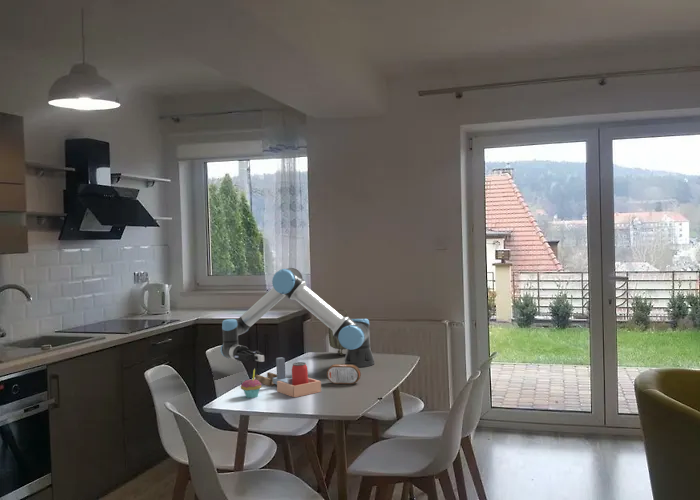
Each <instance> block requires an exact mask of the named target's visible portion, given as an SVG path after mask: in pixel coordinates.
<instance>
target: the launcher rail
mask: <svg viewBox="0 0 700 500" xmlns="http://www.w3.org/2000/svg"><path fill="white" fill-rule="evenodd" d="M266 375H267V377H266V376H263V375H259V374H255V376H254V379H256V380H258V381H260V382H261V383H262V385H265V386H268V387H274V386H277V385H276V384H273V379H272V378H275V377H277V373H272V372H266Z"/></svg>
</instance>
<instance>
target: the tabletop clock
mask: <svg viewBox="0 0 700 500" xmlns="http://www.w3.org/2000/svg"><path fill="white" fill-rule="evenodd" d="M336 311H337V312H338V313H339V312H340V311H341V312H345V315H344V314H341V315H342V316H343V317H347V316H348V312H347V311H346V310H345V309H341V308H340V309H338V310H336ZM328 342H329V343H328V344H329V347H331V348H333V349H335V350H337V353H338V354H339V356H343V350H347V349H346V348H344V347H343V346H342V345H341V344H340V342H339V340H338V339H337V338H336V337H335V336H333V331H332V330H331V329H330V328H329V327H328Z"/></svg>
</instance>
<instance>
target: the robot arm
mask: <svg viewBox="0 0 700 500" xmlns="http://www.w3.org/2000/svg"><path fill="white" fill-rule="evenodd" d="M271 282H272V283H271V284H272V288H271V289H270V290H269V291H268V292H267V293H265V294H264V295H263V296H262V297H260V298H259V300H257V301H256V302H255V303H254V304H253V305H251V306H250V307H249V309H247V310H246V311H245V312H244V313H243V314H242V315H240V316H239V317H238V318H237V319H236V318H230V319H224V320H222V323H221V325H222V326H221V330H222V344H221V346H220V350H219V351H220V354H221V355H222V356H223V357H225V358H227V359H231V360H236V361H237V362H247V361H251V362H255V361H256V362H260V363H263V362H265V355H264V354H263V353H262V352H260V351H259V350H255V351H253V350H250V349H249V347H247V346H245V345H241V344H239V336H240V335H244V334H245V333H248V331H249V329H250V328H251V327H252V326H253V325H255V323H257V322H258V321H259V320H260V319H261V318H262V317H264V316H265V315H266V314H267V313H268V312H269V311H271V309H273V308H274V306H276V305H277V304H278V303H279V302H280V301H281V300H283V299H284V298H285V297H286V298H288V299H289V300H295V301H296V302H298V303H299V304H300V305H301V306H302V307H304V308H305V310H307V311H308V312H310V313H311V314H312V315H314V317H315V318H317V319H318V320H319V321H320V322H321V323H322V324H324V325H325V326H326V327H327V328H328V329H329V328H330V329H331V330H332V331H333V336H335V337H336V338H337V339H338V340H339V342H340V344H341V345H342V346H343V347H344V348H346V349H345V350H346V352H345V357H344V362H343V364H347V365H355V366H357V367H358V368H361V367H362V368H364V367H369V366H373V365H375V358H374V354H373V352H372V350H371V339H370V338H371V336H370V335H371V334H370V333H371V332H370V324H371V323H370V320H369V319H368V318H350V317H349V316H345V317H343V316H344V315H343V316H342V314H340V313H339V312H337V311H338V310H336V309H335V308H333V307H332V306H331V305H330V304H328V303H327V302H326V301H325V300H324V299H323V298H321V297H320V296H319V295H318V294H317V293H316V292H314V291H313V290H312V289H311V288H310V287H308V286H307V281H306V280H304V279H303V274H302V273H301V271H299V269H297V268H294V267H289V268H281V269H280V270H278V271H276V272H275V273H274V275H273V277H272V280H271Z"/></svg>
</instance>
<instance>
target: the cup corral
mask: <svg viewBox="0 0 700 500" xmlns="http://www.w3.org/2000/svg"><path fill="white" fill-rule="evenodd" d="M276 391H277V393H280V394H283V395H286V396H290V397H291V398H292V397H293V398H299V397H304V396H308V395H313V394H316V393H321V392H322V381H321V380H318V379H314V378H312V377H308V383H306V384H301V385H296V386H294V385H291V384H288V383H285V382H281V381H277V385H276Z"/></svg>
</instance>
